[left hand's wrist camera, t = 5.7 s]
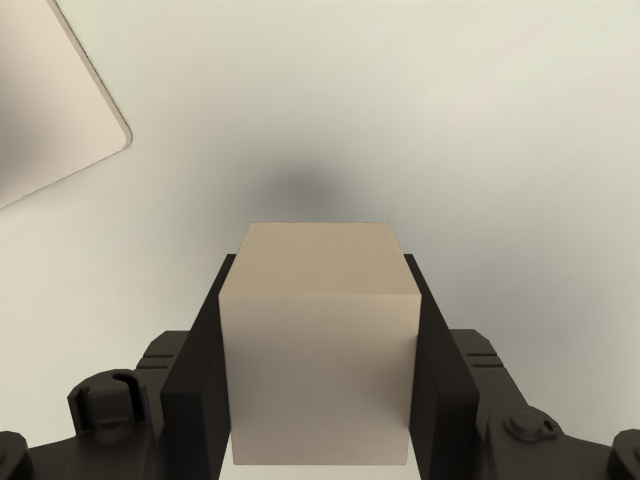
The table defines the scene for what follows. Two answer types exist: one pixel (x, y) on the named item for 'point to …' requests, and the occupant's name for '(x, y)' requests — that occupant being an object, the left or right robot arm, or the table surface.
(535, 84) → the table surface
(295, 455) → the block
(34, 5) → the tablet stand
